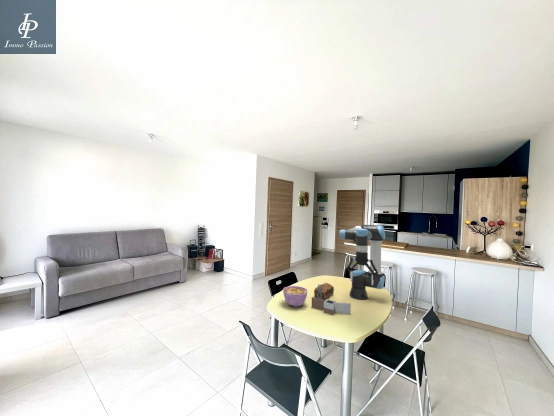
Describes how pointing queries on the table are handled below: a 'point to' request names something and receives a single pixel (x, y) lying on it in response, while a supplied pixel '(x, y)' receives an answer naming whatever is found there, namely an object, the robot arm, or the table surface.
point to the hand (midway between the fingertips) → (361, 282)
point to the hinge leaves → (331, 306)
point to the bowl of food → (295, 295)
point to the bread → (325, 291)
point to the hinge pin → (319, 291)
